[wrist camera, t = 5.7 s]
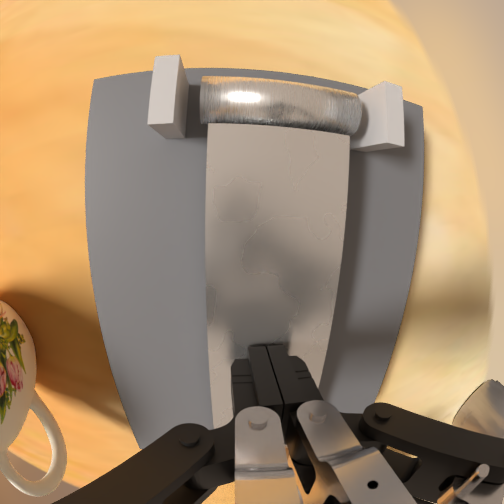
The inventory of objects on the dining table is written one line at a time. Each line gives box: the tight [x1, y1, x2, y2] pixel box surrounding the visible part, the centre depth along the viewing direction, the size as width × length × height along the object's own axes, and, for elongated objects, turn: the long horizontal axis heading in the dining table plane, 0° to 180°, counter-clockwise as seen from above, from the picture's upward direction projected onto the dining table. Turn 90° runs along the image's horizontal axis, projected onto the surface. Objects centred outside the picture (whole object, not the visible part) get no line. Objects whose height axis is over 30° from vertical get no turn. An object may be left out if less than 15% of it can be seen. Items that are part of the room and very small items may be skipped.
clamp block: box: [85, 55, 424, 449], centre depth 13 cm, size 16×22×7 cm
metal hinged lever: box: [199, 76, 362, 448], centre depth 11 cm, size 6×18×2 cm, turn 178°
